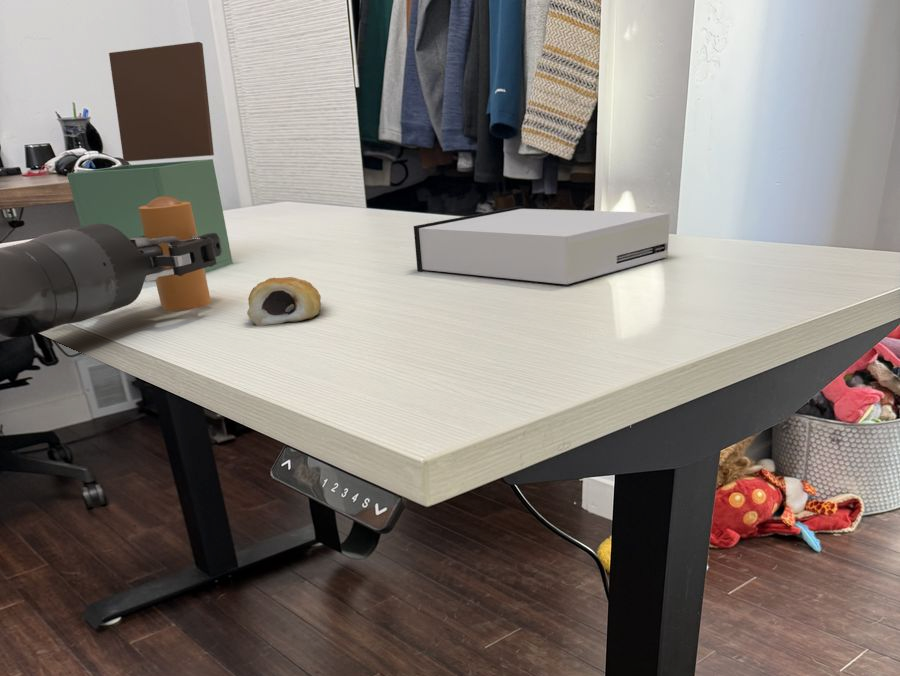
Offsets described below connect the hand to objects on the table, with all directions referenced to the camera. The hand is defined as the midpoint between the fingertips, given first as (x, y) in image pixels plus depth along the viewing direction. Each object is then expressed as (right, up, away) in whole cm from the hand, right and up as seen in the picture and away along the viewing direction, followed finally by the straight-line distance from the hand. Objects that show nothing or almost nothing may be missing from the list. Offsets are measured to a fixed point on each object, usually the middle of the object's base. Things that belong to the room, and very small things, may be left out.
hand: (182, 244), depth 91 cm
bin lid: (-9, +26, +19) cm, 33 cm away
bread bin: (-9, +6, +23) cm, 26 cm away
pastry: (+12, -10, -7) cm, 18 cm away
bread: (0, -6, +2) cm, 6 cm away
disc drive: (+39, 0, +7) cm, 39 cm away
